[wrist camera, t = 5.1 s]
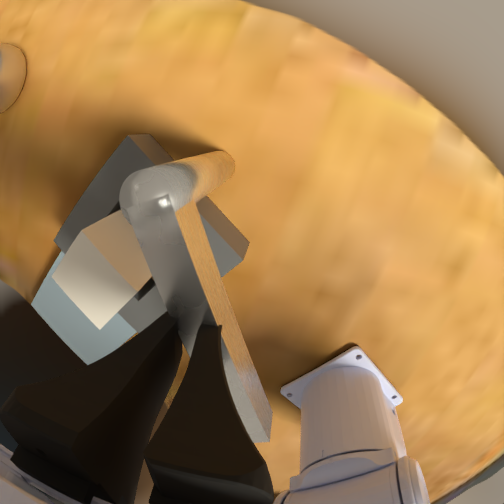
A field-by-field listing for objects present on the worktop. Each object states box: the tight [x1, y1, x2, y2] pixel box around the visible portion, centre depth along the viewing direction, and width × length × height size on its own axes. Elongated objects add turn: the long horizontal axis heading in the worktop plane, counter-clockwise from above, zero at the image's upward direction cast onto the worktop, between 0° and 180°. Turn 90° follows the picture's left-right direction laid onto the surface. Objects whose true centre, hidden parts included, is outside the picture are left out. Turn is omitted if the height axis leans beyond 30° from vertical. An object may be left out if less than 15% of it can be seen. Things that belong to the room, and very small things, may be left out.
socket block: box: [54, 134, 250, 333], centre depth 20 cm, size 10×10×3 cm
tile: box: [31, 251, 137, 365], centre depth 24 cm, size 9×9×2 cm
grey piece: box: [119, 151, 273, 443], centre depth 15 cm, size 13×2×10 cm, turn 16°
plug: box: [52, 210, 152, 330], centre depth 17 cm, size 4×4×8 cm
